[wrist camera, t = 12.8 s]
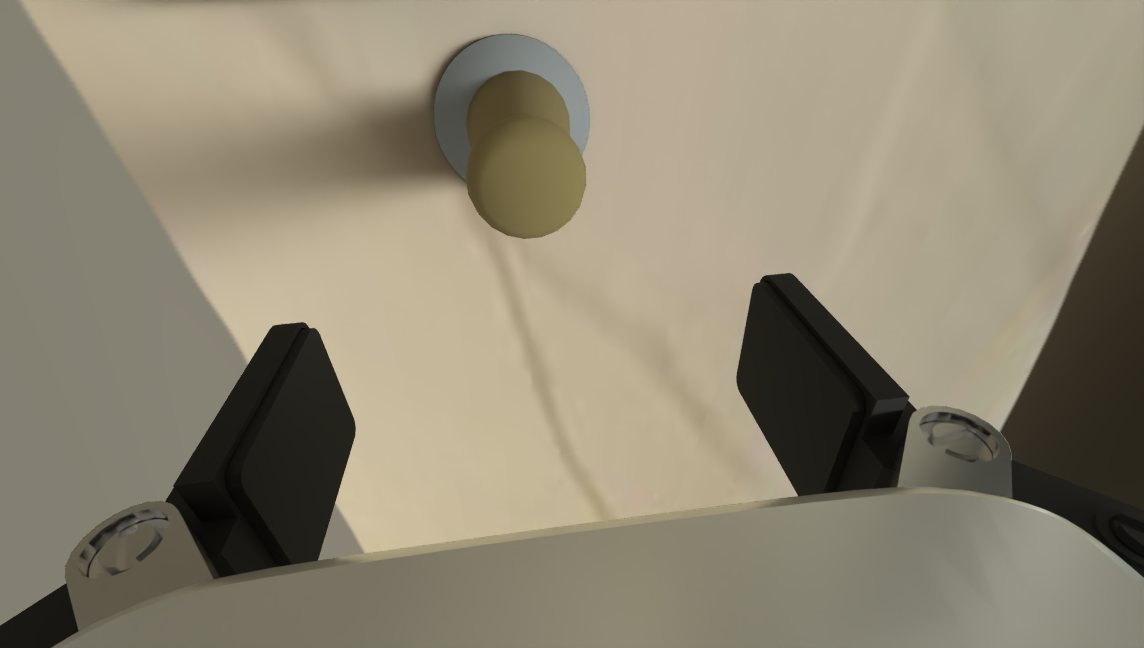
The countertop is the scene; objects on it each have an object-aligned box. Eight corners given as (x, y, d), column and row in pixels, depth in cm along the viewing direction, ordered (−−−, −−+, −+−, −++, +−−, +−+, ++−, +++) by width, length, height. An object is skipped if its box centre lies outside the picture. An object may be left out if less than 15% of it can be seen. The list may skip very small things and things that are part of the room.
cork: (466, 174, 31) (454, 256, 22) (465, 64, 28) (451, 107, 19) (564, 181, 32) (591, 262, 23) (575, 75, 29) (612, 122, 20)
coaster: (586, 28, 28) (587, 29, 28) (590, 188, 33) (591, 191, 33) (419, 39, 28) (418, 40, 27) (449, 200, 33) (449, 204, 32)
